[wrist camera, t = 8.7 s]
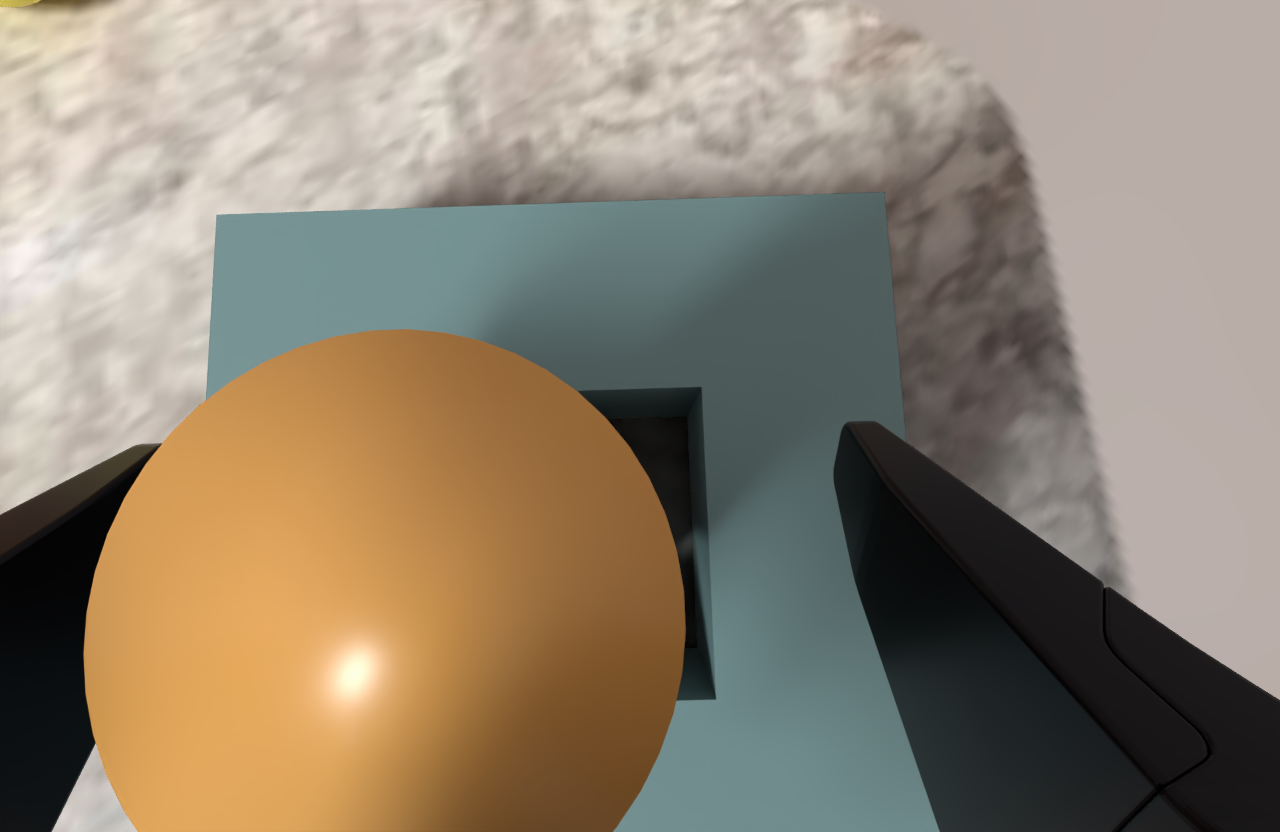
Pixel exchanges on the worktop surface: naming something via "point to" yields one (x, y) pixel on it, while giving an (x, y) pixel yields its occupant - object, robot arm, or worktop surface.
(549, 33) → the worktop surface
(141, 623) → the plug
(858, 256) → the socket
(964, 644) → the robot arm
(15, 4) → the lemon
